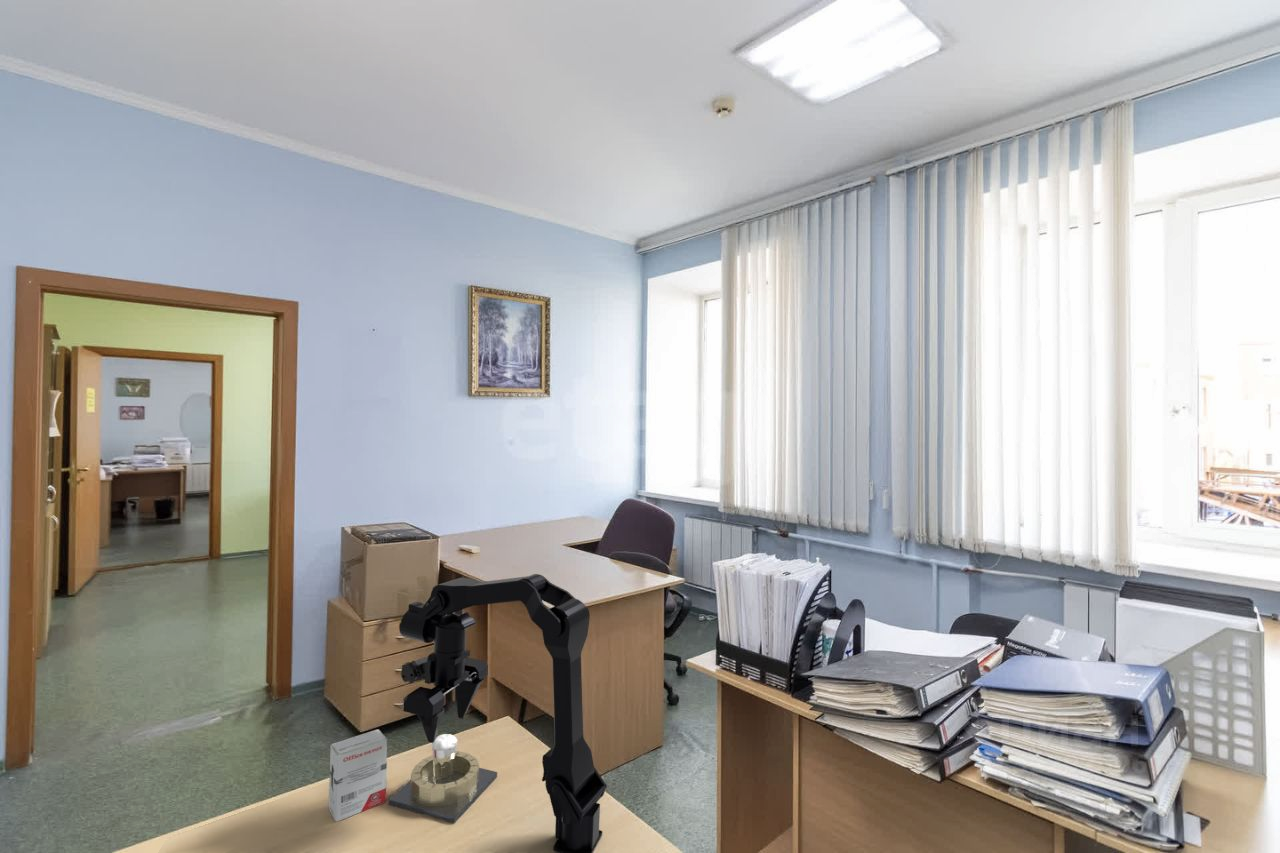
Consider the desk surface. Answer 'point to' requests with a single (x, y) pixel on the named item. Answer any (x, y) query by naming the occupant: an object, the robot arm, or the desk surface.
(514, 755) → the desk surface
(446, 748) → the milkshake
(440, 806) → the collar station
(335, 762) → the ink box
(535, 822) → the desk surface
